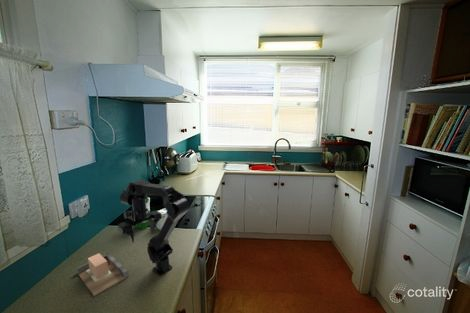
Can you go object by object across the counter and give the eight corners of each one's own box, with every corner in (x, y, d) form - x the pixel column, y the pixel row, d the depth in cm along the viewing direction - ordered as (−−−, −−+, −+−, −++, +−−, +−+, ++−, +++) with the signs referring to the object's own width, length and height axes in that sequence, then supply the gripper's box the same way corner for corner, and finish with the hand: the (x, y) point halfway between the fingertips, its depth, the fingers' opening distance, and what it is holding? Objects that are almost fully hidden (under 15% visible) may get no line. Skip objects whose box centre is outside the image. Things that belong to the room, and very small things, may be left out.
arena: (128, 276, 91) (127, 270, 90) (94, 296, 81) (93, 289, 80) (109, 258, 103) (108, 252, 103) (77, 273, 93) (76, 267, 93)
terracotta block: (100, 264, 98) (99, 253, 97) (108, 273, 92) (107, 261, 91) (89, 270, 94) (87, 258, 93) (97, 279, 89) (95, 266, 88)
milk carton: (143, 230, 129) (140, 199, 125) (132, 227, 132) (129, 197, 129) (153, 223, 137) (151, 194, 133) (143, 221, 140) (140, 192, 137)
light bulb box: (170, 221, 140) (169, 205, 139) (176, 224, 136) (175, 208, 134) (155, 227, 132) (154, 211, 130) (161, 230, 128) (160, 214, 126)
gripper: (149, 197, 109) (151, 224, 111) (110, 209, 94) (114, 240, 97) (161, 202, 102) (163, 231, 105) (121, 216, 87) (125, 249, 90)
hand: (142, 237), depth 99 cm, fingers open, 9 cm apart
